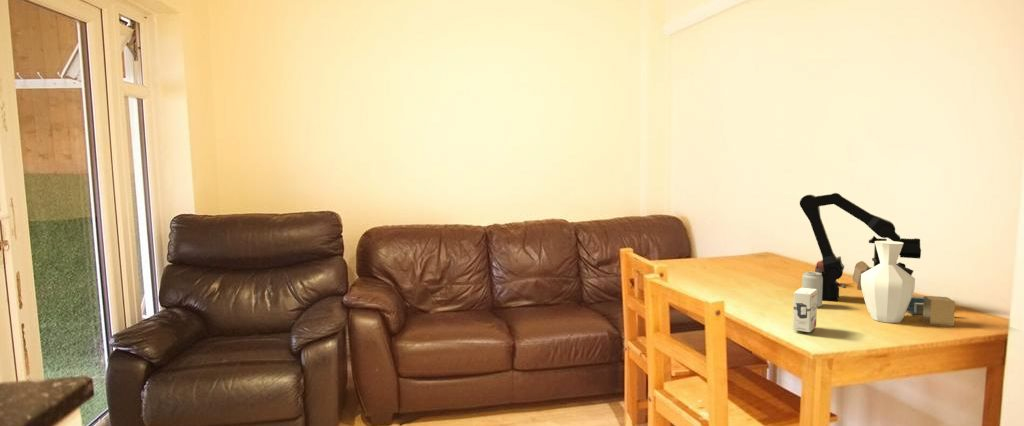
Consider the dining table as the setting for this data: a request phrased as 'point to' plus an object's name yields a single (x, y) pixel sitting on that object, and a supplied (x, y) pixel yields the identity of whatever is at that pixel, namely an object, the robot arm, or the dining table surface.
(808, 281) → the beverage can
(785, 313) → the dining table surface
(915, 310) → the fixed jaw
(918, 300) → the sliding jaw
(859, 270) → the stone
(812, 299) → the ink box
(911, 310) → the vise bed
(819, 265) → the stuffed fox
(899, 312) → the vase
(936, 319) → the block
